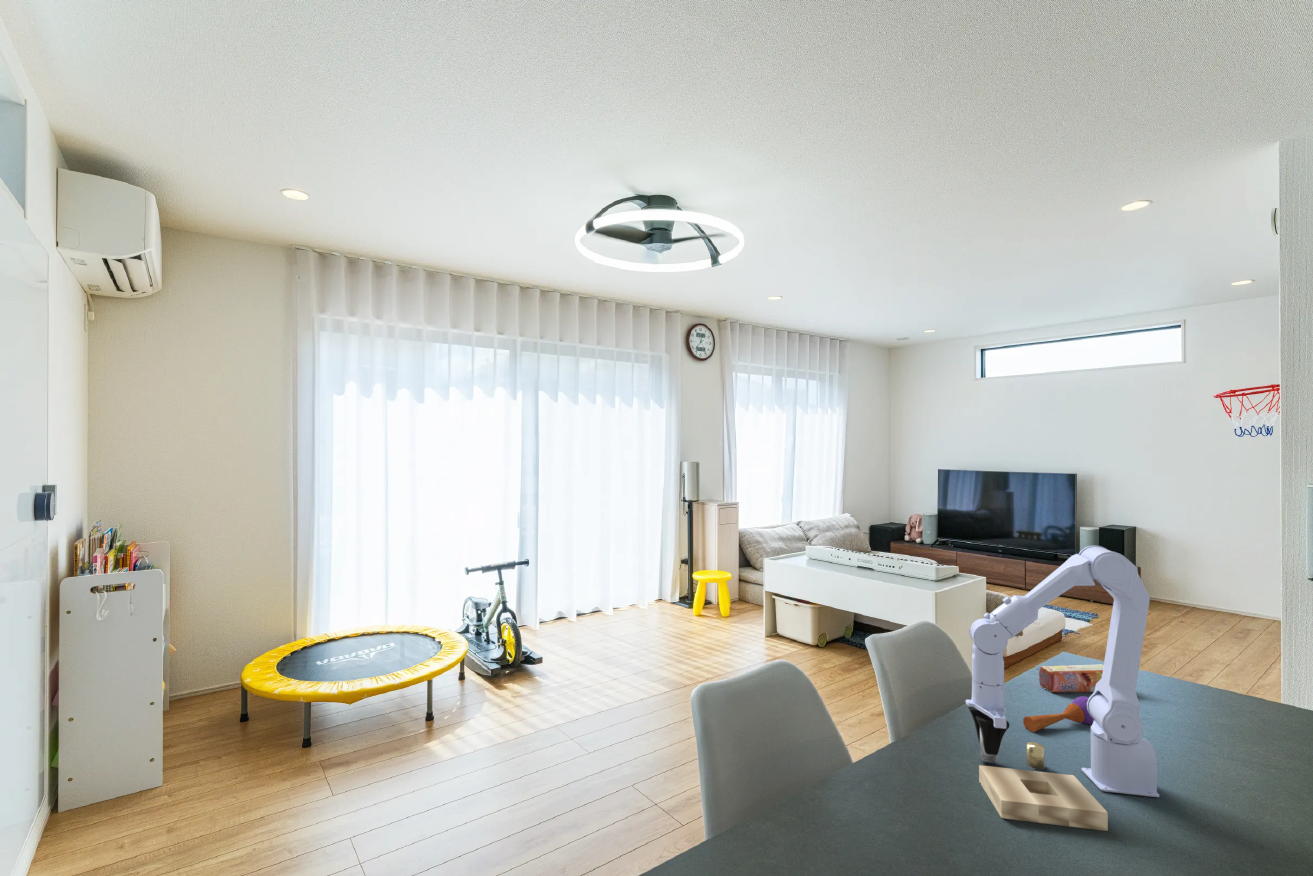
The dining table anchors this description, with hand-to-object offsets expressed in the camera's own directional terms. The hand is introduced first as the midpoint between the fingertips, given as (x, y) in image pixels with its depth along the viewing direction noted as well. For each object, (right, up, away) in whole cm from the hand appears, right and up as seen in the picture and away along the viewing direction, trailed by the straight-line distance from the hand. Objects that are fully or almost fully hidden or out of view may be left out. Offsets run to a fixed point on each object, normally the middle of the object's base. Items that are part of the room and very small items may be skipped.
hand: (988, 749), depth 122 cm
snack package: (+47, -5, +40) cm, 62 cm away
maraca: (+27, -4, +18) cm, 32 cm away
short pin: (+9, -3, -1) cm, 9 cm away
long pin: (0, -2, 0) cm, 2 cm away
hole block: (+1, -2, -15) cm, 15 cm away
